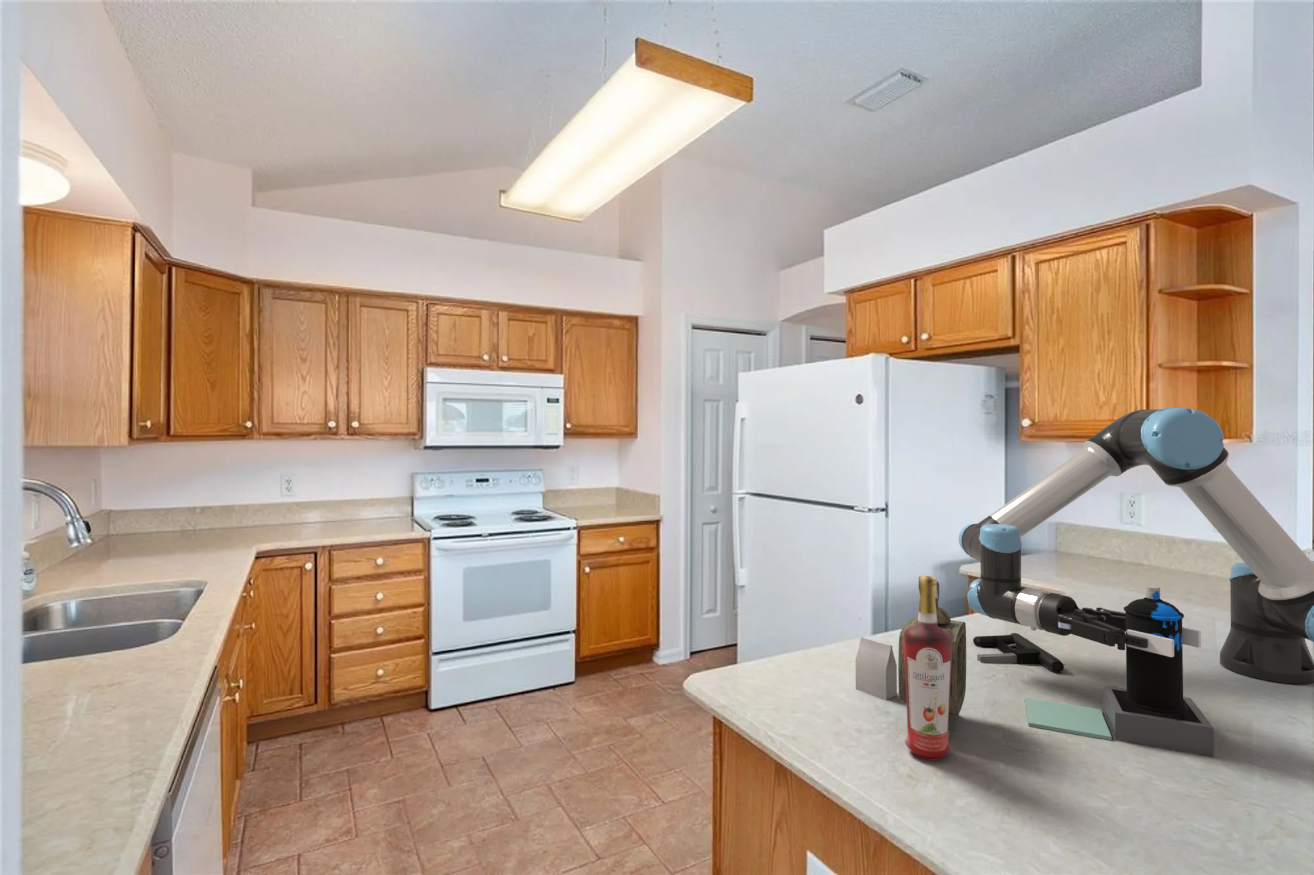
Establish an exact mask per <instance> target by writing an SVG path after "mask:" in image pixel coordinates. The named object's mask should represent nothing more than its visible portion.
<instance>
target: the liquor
mask: <svg viewBox="0 0 1314 875" xmlns="http://www.w3.org/2000/svg"><path fill="white" fill-rule="evenodd" d="M937 581H938V579H937V578H936V577H934V576H931V575H930V576H927V575H926V576H925V575H923V576H922V575H921V576H919V577H918V592H919V604H918V614H917V615H918V616H917V617H918V625H914V626H911V627H909V628H908V629H907V630H905V631H904V632H903V641H904V665H905V680H906V698H907V704H906V718H907V719H906V720H907V721H906V722H907V723H906V724H907V726H906V727H907V736H906V737H905V739H904V744H905V746H906V747H907V748H908V749H909V750H910V751H911V752H912V753H913V754H914V756H916V757H918V758H921V759H924V760H928V761H937V760H940V759H942V758H944V757H945V756H947V755H948V754H949V753H951V751H952V747H951V745H950V743H949V738H948V730H949V722H950V721H949V720H950V717H949V716H950V715H949V698H950V683H951V667H952V643H953V637H952V636H951V635H950V634H949V633H948V632H947V631H945V630H944V629H942V628H939V627H938V623H937V613H936V602H935V597H936V594H937Z"/></svg>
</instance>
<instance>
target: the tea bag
mask: <svg viewBox="0 0 1314 875" xmlns="http://www.w3.org/2000/svg"><path fill="white" fill-rule="evenodd" d="M859 641H860V642H859V646H858V649H857V652H856V657H855V690H857V691H860V692H863V693H866V694H868V695H871V696H874V697H876V698H879V699H883V700H885V701H887V700H889V699H891V698H894V697H896V696H897V694H898V693H897V691H898V685H897V684H898V683H897V682H898V679H897V678H898V676H897V674H898V667H897V666H898V665H897V664H898V663H897V662H896V657H895V654H894V650H893V645H891V644H888V643H883V642H880V641H876V640H873V639H870V638H866V637H860V639H859ZM893 696H894V697H893Z"/></svg>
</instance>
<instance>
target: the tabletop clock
mask: <svg viewBox="0 0 1314 875" xmlns="http://www.w3.org/2000/svg"><path fill="white" fill-rule="evenodd" d="M939 599H940V583H939V581H938V580H937V590H936V595H935V602H936V613H937V623H938V627H939V628H942V629H944V630H945V631H947V632H948V633H949V634H950V635H951V636H952V637H953V643H952V667H951V683H950V698H949V716H952V717H956V718H957V717H958V716H959V715H960V713H961V710H962V707H963V705H964V701H965V696H966V692H967V690H966V687H967V626H966V622H965V621H961V620H953V619H951V617H950V615H949V614H948V612H947V611H946V609H944V608H942V607H939ZM914 625H918V616H917V617H914V618H911V619H909V620H908V621H907V622H906V623H905V624H904V626H903V627H902V628H901V630H900V632H899V637H898V656H897V657H898V663H897V664H898V665H897V666H898V667H897V674H898V676H897V678H898V697H899V698H898V699H899V700H900V701H902V702H903V703H904V704H905V705H907V698H906V680H905V665H904V641H903V632H904V631H905V630H907V629H908V628H909V627H911V626H914ZM950 737H951V732H950V730H949V729H948V739H949V738H950Z"/></svg>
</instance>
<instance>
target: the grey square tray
mask: <svg viewBox="0 0 1314 875" xmlns="http://www.w3.org/2000/svg"><path fill="white" fill-rule="evenodd" d="M1101 687H1102V688H1101V689H1102V692H1101V693H1102V698H1101V699H1102V700H1101V701H1102V703H1101V704H1102V707H1101V708H1102V710H1101V711H1102V712H1103V713H1102V714H1104V715H1103V716H1104V718H1105V719H1106V720H1105V721H1107V722H1106V723H1107V724H1108V728H1110V732H1111V734H1112V737H1113V739H1114V740H1116V741H1120V742H1126V743H1131V744H1137V745H1143V746H1144V745H1145V746H1151V747H1155V748H1161V749H1168V750H1172V749H1174V750H1173V751H1178V752H1184V753H1185V752H1186V753H1191V754H1196V753H1197V754H1196V755H1200V756H1201V755H1202V756H1208V757H1213V758H1214V757H1215V727H1214V726H1213V724H1212V723H1211V722H1210V721H1209V720H1208V718H1207V717H1206V716H1205V715H1204V713H1203V712H1202V711H1201V709H1199V707H1198V705H1196V703H1195V701H1193V699H1192V698H1191V697H1185V696H1183V705H1184V706H1185V711H1183V712H1181V713H1175V714H1169V713H1159V712H1153V711H1149V710H1145V709H1142V708H1139V707H1136V706H1134V705H1132V704H1130V703H1129V702H1128V701H1126V699H1125V695H1126V694H1127V688H1123V687H1113V686H1109V685H1108V686H1107V685H1102V686H1101Z"/></svg>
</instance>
